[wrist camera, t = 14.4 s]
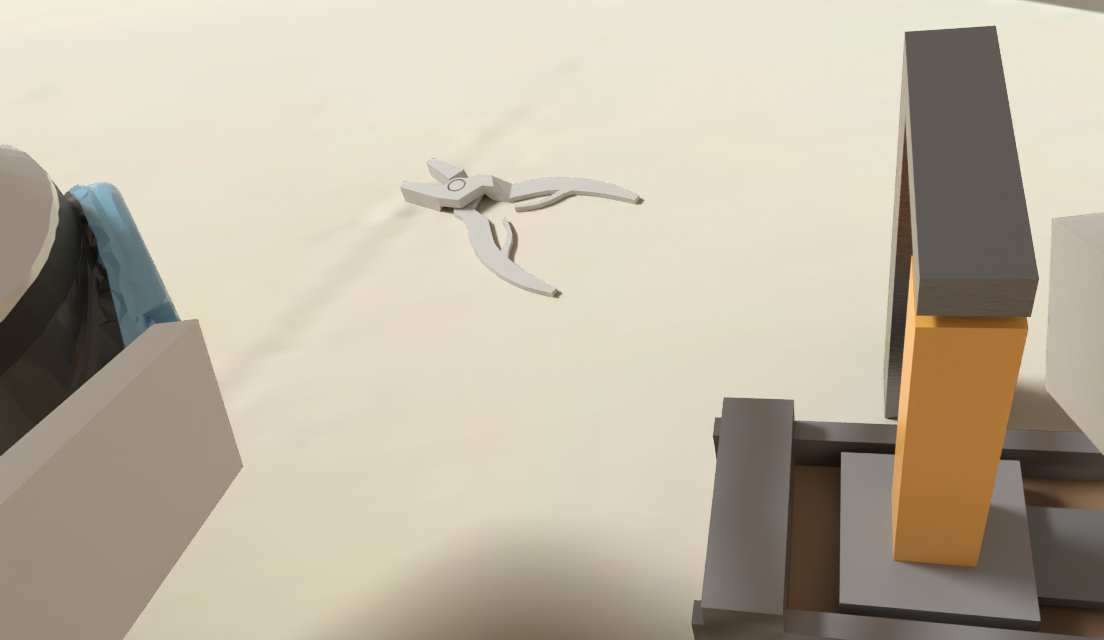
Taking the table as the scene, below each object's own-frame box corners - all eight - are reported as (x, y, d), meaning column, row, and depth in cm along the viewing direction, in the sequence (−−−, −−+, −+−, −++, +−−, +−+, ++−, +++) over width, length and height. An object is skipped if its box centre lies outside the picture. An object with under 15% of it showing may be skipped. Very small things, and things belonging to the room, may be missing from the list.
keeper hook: (889, 601, 41) (920, 278, 27) (883, 369, 49) (905, 31, 35) (967, 608, 40) (1038, 278, 26) (948, 370, 48) (995, 25, 34)
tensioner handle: (839, 621, 39) (843, 378, 28) (840, 473, 43) (845, 214, 32) (1218, 658, 35) (1393, 394, 24) (1177, 491, 39) (1308, 205, 29)
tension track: (699, 662, 40) (687, 605, 37) (721, 461, 47) (712, 397, 43) (1468, 748, 33) (1546, 688, 29) (1369, 495, 39) (1422, 421, 36)
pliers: (545, 285, 56) (366, 215, 64) (551, 304, 57) (374, 233, 65) (639, 182, 61) (460, 129, 68) (642, 201, 62) (466, 147, 70)
